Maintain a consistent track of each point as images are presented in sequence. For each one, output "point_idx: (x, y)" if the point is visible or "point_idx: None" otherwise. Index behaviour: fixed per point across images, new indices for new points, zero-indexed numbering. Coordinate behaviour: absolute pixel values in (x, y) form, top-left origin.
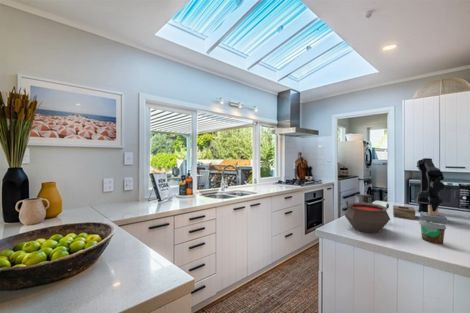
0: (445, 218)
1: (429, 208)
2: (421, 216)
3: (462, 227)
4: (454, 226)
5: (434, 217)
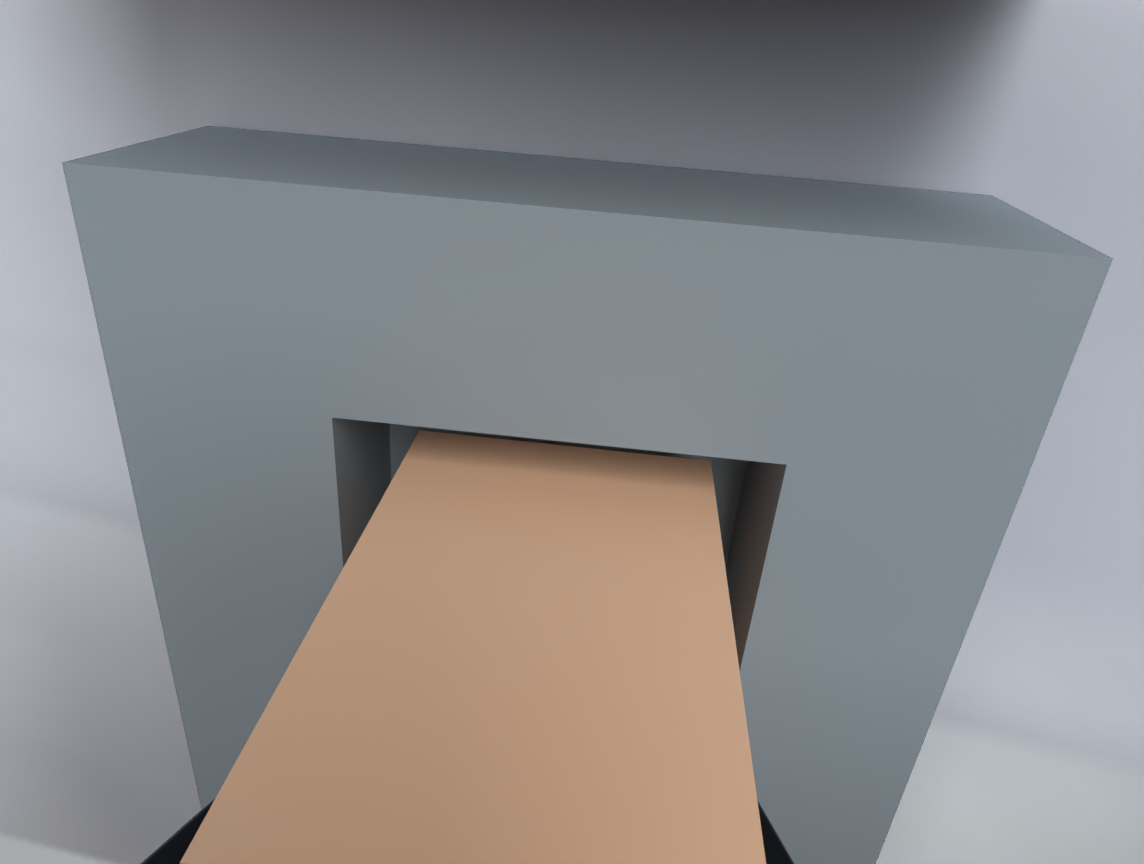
0: (205, 793)
1: (258, 732)
2: (623, 178)
3: (146, 844)
4: (114, 747)
5: (161, 548)
